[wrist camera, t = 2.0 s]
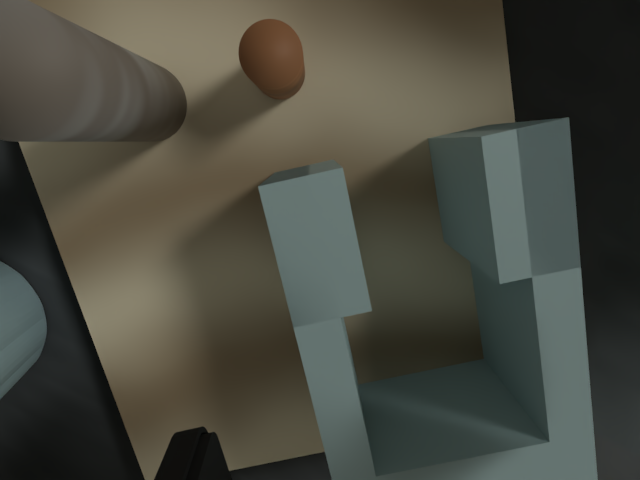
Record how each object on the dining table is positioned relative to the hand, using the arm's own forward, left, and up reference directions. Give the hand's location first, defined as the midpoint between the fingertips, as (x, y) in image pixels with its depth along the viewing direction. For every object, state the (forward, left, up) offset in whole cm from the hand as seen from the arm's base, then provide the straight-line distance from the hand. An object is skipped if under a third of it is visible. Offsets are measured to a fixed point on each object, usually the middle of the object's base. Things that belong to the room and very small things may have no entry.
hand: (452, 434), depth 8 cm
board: (+4, +3, -8) cm, 10 cm away
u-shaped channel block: (-1, -1, -7) cm, 7 cm away
